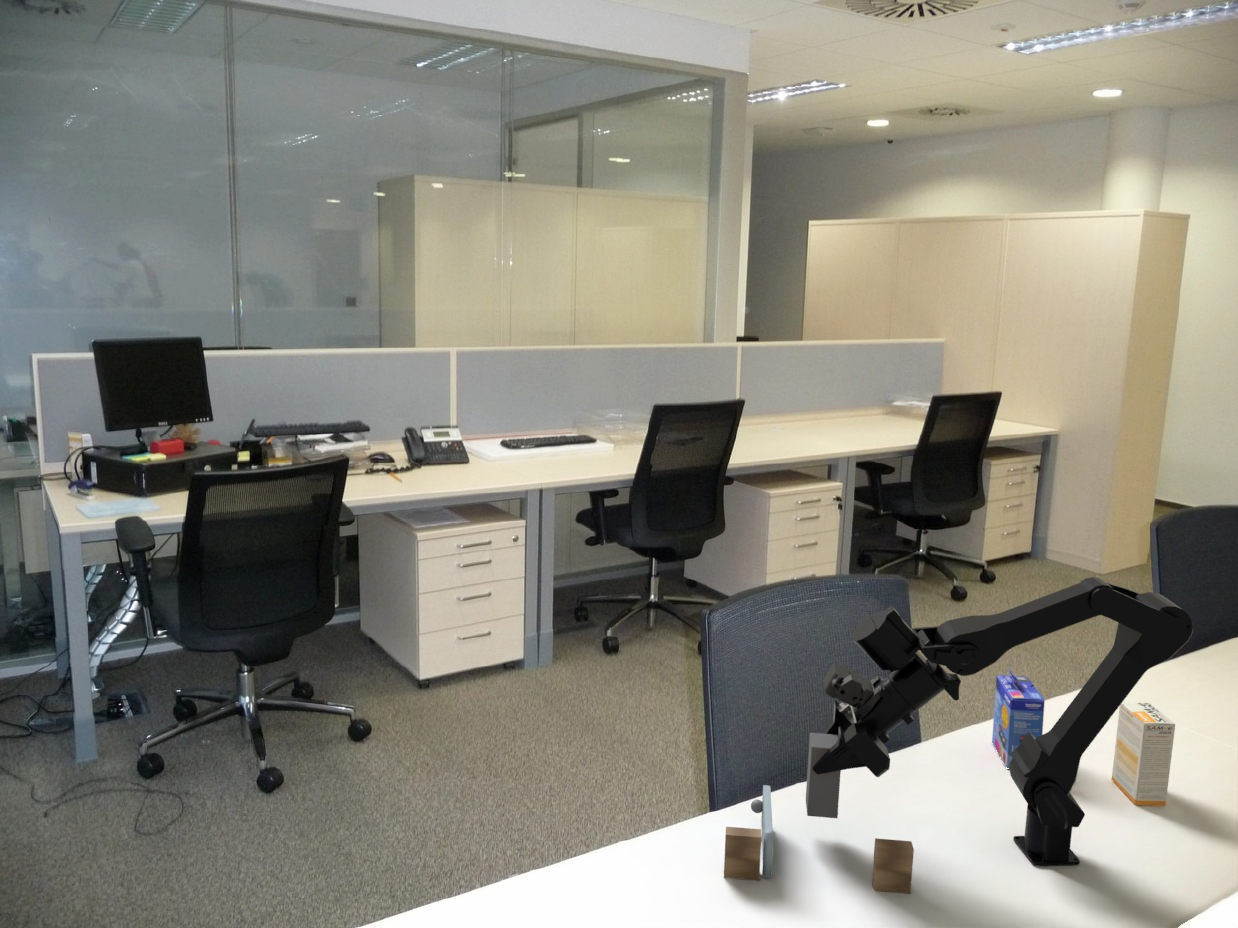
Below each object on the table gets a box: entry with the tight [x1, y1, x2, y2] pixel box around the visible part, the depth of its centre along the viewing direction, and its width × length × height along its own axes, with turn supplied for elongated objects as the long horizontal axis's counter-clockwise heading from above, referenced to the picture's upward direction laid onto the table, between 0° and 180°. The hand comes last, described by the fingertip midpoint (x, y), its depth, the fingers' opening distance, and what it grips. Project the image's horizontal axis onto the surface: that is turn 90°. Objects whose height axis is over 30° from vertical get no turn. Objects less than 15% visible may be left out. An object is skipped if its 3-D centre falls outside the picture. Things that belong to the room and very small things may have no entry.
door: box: [750, 784, 775, 878], centre depth 139 cm, size 14×3×6 cm, turn 173°
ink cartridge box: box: [991, 668, 1045, 768], centre depth 167 cm, size 10×6×14 cm, turn 174°
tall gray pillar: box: [805, 732, 842, 819], centre depth 142 cm, size 4×4×10 cm
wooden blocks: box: [723, 826, 915, 894], centre depth 132 cm, size 23×2×6 cm, turn 83°
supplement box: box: [1111, 701, 1176, 807], centre depth 156 cm, size 8×5×13 cm, turn 179°
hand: (813, 763), depth 142 cm, fingers closed on tall gray pillar, 4 cm apart
